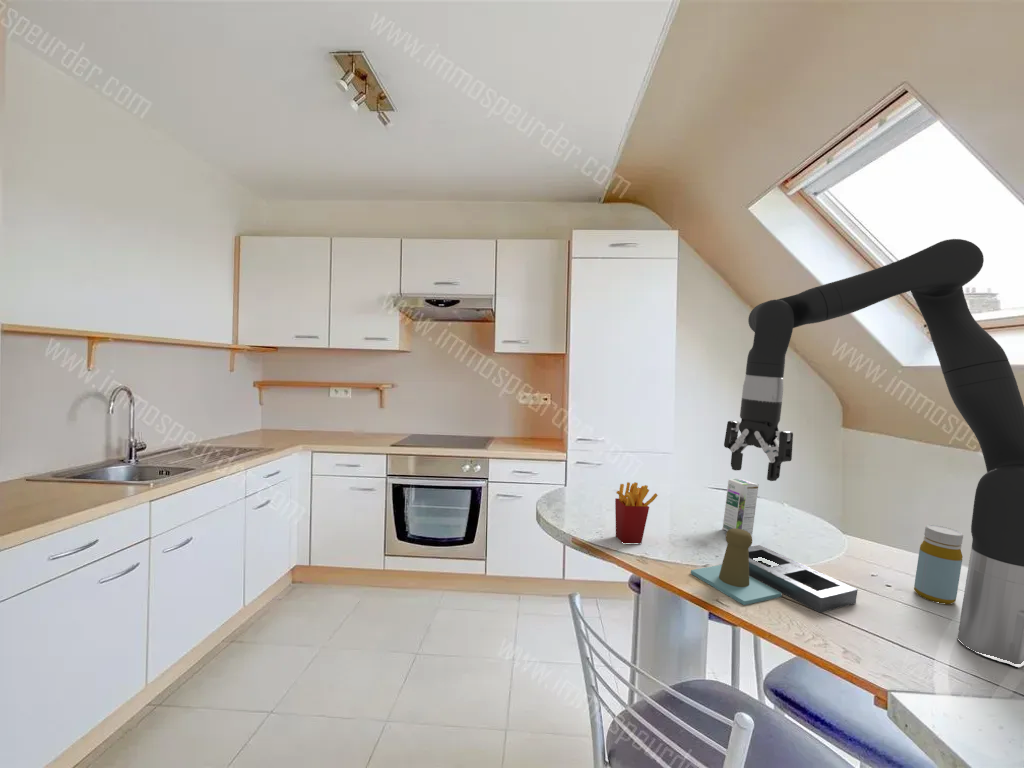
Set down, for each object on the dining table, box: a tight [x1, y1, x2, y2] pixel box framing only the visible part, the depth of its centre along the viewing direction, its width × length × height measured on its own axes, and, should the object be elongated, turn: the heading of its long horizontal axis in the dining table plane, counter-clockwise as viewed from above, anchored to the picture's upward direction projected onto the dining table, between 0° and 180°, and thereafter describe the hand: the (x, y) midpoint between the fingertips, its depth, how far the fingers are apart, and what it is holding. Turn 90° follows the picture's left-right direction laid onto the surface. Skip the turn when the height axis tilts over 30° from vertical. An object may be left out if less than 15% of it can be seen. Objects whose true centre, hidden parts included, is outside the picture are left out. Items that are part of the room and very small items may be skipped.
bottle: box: [913, 524, 964, 605], centre depth 109 cm, size 7×7×15 cm
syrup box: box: [722, 478, 759, 535], centre depth 140 cm, size 6×6×14 cm
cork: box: [719, 528, 753, 587], centre depth 108 cm, size 6×6×11 cm
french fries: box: [614, 481, 659, 544], centre depth 129 cm, size 9×8×15 cm
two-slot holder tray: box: [748, 544, 858, 614], centre depth 111 cm, size 23×12×3 cm, turn 26°
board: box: [690, 564, 783, 606], centre depth 108 cm, size 14×11×1 cm
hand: (753, 475), depth 106 cm, fingers open, 8 cm apart
